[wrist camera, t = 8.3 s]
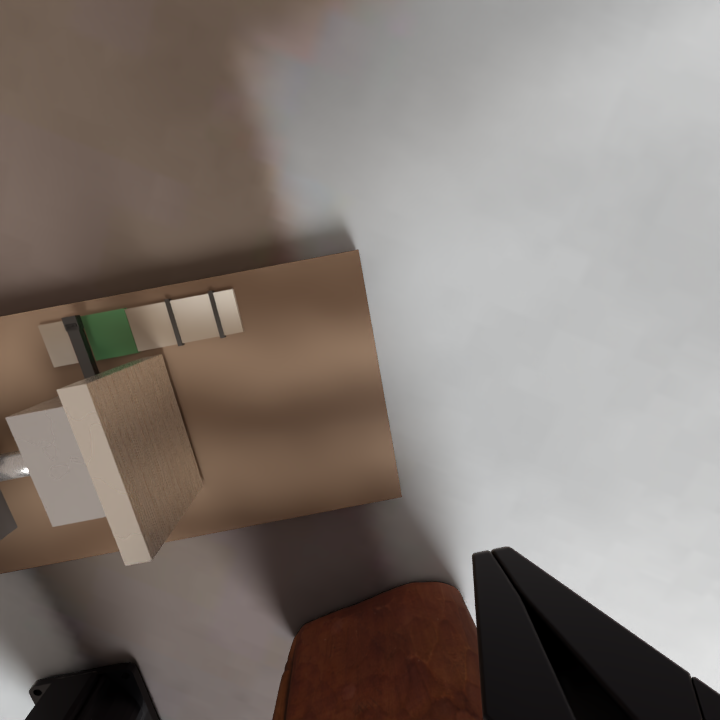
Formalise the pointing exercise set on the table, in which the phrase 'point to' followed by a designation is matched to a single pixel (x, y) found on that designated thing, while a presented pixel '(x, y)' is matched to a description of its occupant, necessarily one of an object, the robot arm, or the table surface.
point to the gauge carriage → (109, 451)
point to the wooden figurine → (386, 660)
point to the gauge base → (220, 397)
